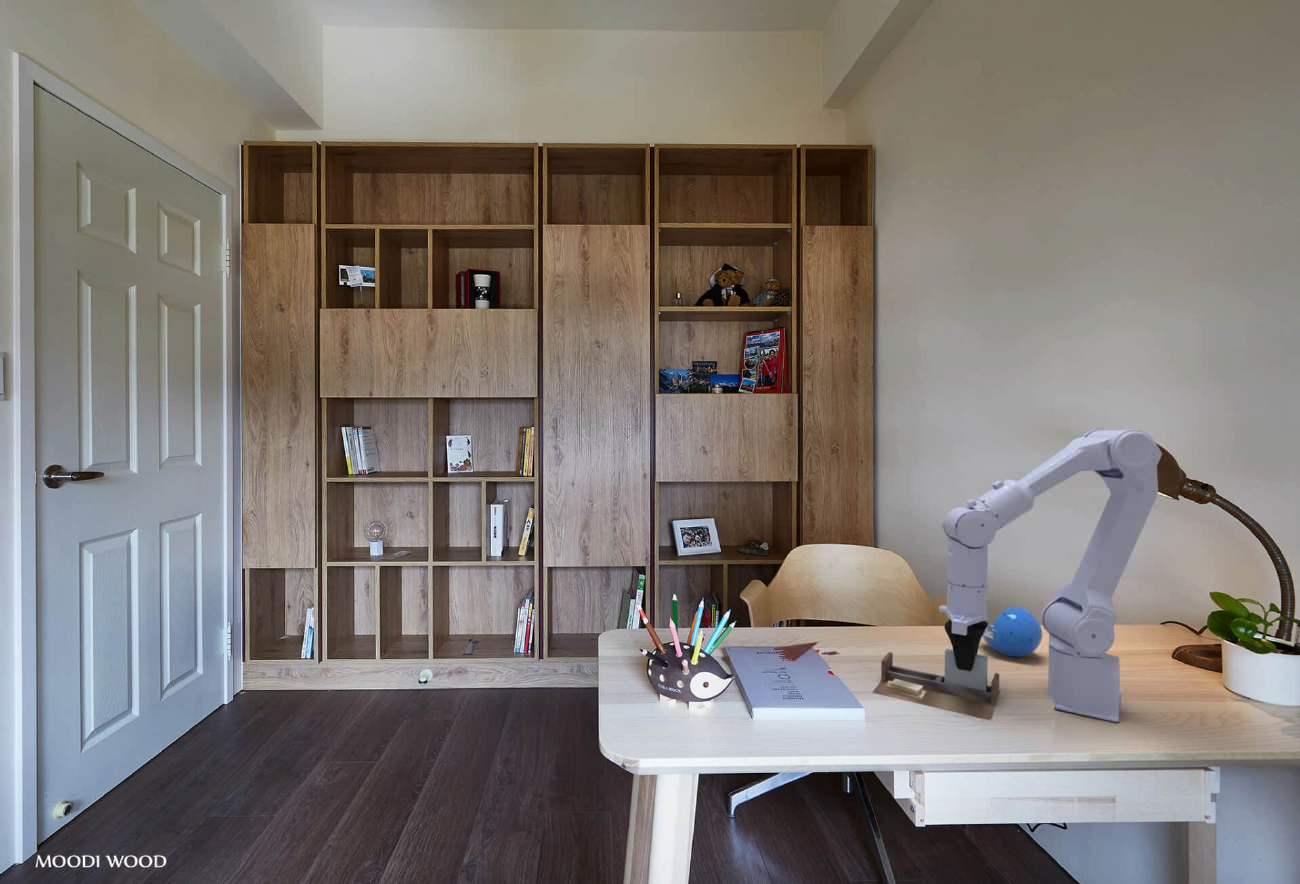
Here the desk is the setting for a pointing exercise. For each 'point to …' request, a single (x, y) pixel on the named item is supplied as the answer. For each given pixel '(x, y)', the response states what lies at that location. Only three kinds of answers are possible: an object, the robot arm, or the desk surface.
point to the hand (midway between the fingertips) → (965, 667)
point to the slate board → (966, 672)
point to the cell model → (1014, 633)
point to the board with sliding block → (941, 691)
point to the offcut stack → (905, 689)
